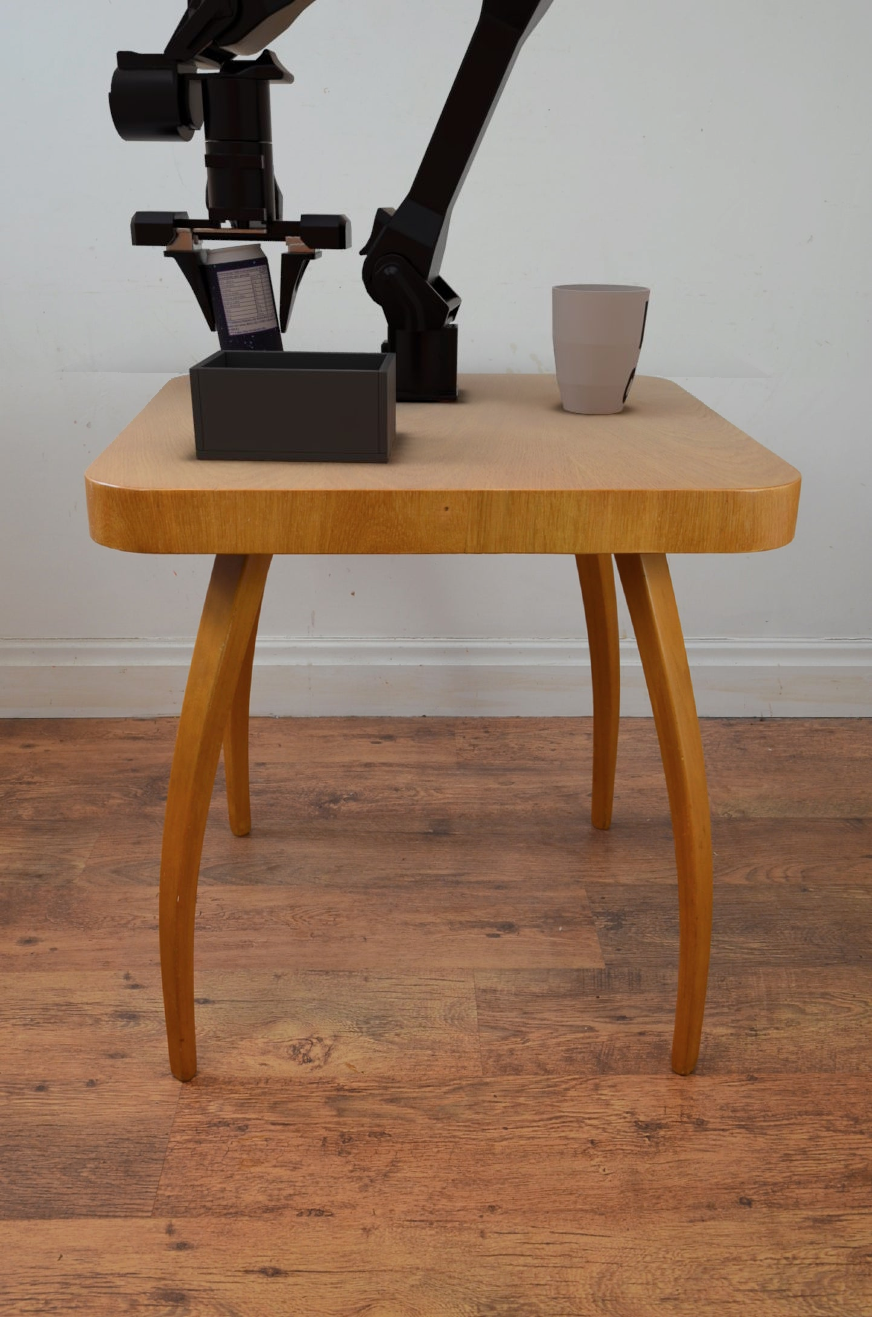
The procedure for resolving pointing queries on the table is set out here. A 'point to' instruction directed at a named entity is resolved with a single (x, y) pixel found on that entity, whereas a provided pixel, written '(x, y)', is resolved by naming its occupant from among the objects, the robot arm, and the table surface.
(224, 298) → the beverage can
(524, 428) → the table surface
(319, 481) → the table surface
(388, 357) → the open storage box
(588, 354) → the cup
